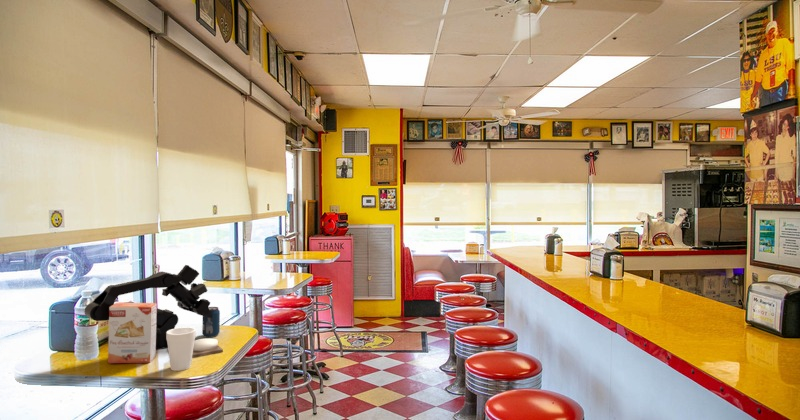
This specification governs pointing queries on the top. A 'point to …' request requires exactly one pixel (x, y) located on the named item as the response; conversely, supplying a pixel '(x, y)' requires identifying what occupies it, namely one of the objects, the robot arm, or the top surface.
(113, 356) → the cracker box
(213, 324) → the soda can
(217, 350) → the plinth board
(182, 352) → the foam cup
